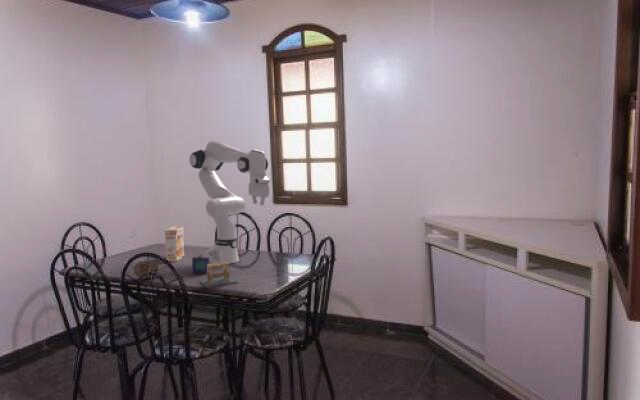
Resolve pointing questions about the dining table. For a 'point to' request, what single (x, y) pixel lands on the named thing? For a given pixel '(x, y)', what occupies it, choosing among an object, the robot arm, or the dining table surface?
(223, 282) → the mat
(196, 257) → the flask
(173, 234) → the coffeecake box
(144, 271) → the pine cone
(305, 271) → the dining table surface
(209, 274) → the stool
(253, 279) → the dining table surface
